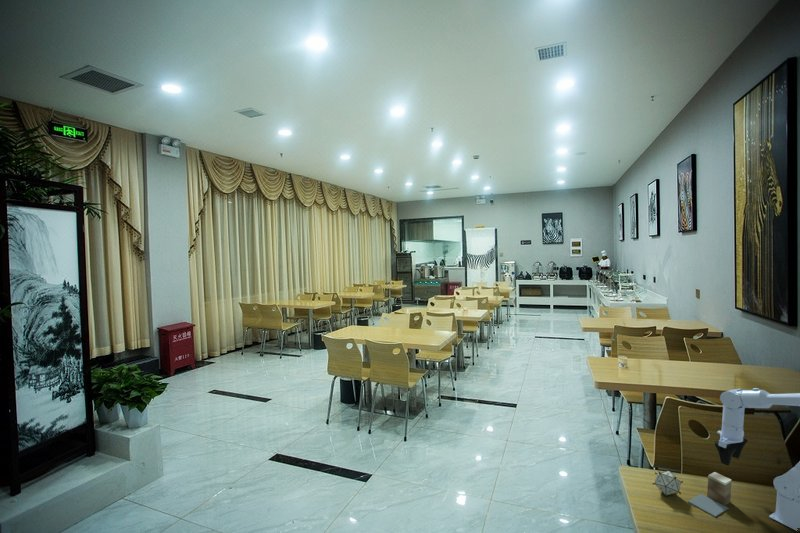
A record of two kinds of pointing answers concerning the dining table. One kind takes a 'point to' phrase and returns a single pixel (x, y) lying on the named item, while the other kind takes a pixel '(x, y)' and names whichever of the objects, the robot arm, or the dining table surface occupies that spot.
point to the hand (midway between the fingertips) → (729, 460)
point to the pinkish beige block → (719, 488)
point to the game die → (667, 483)
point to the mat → (708, 505)
